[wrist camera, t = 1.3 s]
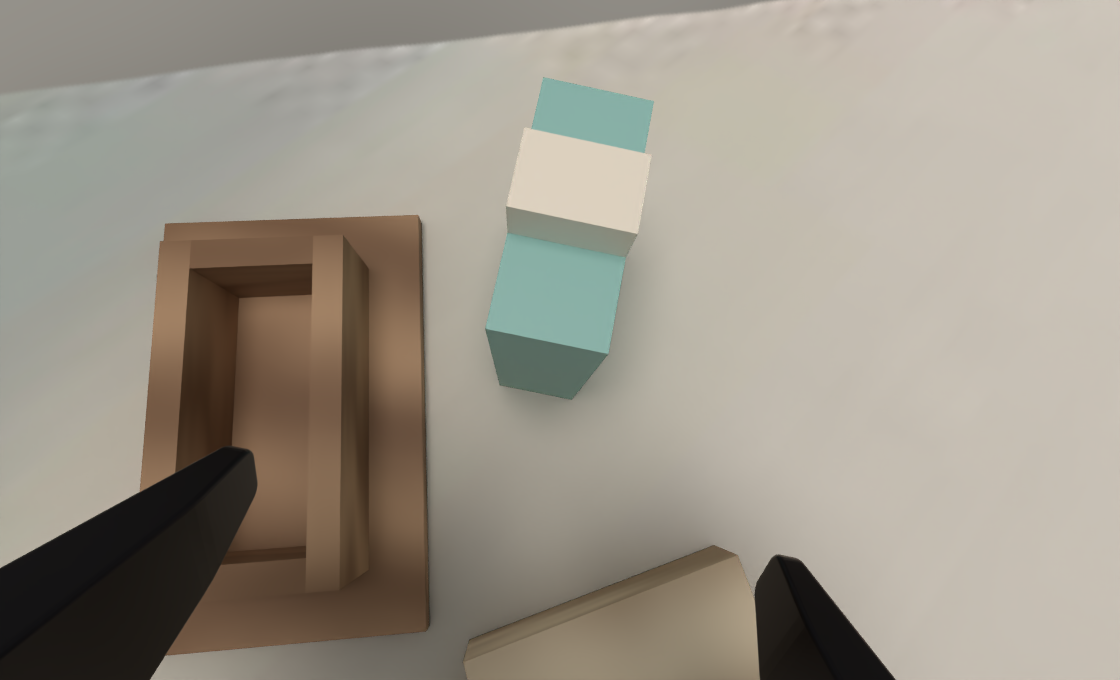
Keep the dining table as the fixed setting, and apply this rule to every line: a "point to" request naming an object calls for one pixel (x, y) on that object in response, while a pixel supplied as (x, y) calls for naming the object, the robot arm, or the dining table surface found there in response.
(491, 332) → the teal rectangular box
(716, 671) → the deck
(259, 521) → the tray
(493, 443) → the dining table surface
